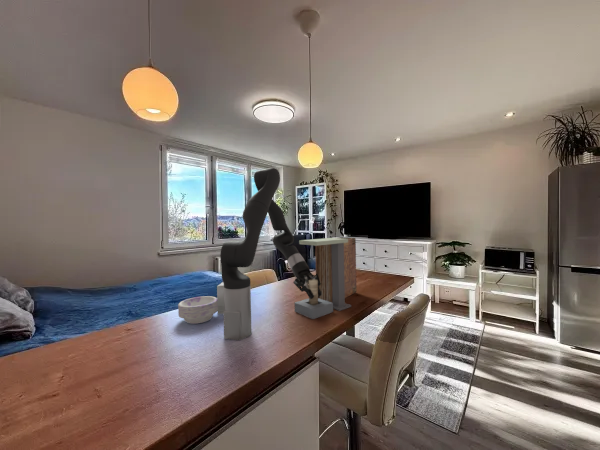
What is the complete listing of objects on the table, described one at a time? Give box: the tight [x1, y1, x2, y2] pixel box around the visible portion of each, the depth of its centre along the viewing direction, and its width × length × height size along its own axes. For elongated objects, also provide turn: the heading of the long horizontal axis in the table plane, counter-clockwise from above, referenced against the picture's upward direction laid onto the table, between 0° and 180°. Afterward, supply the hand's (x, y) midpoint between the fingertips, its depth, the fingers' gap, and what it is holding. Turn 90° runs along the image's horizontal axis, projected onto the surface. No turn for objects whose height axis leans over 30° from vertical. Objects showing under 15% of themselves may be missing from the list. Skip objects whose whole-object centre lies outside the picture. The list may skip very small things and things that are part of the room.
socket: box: [293, 298, 334, 320], centre depth 109 cm, size 12×12×4 cm
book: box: [314, 236, 358, 303], centre depth 129 cm, size 25×9×30 cm, turn 140°
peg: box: [308, 279, 318, 306], centre depth 109 cm, size 4×4×12 cm
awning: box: [298, 237, 352, 312], centre depth 111 cm, size 11×22×32 cm, turn 129°
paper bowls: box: [177, 295, 218, 325], centre depth 103 cm, size 15×15×8 cm
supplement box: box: [216, 281, 224, 315], centre depth 112 cm, size 7×7×13 cm
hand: (316, 296), depth 108 cm, fingers closed on peg, 4 cm apart
